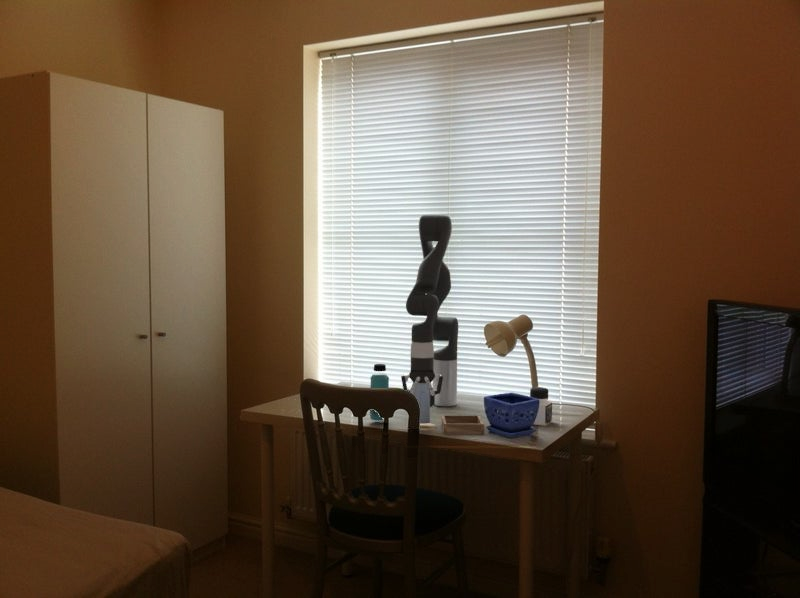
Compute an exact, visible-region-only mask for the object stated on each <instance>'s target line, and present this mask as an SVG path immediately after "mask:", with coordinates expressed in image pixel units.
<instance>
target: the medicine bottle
mask: <svg viewBox="0 0 800 598" xmlns="http://www.w3.org/2000/svg"><path fill="white" fill-rule="evenodd" d="M529 391H530V392H529V397H533V398H536V399H539V400H540V403H539V409H538V414H537V417H536V419H535V422H534V424H533V425H534V426H542V427H546V426H547V425H549V424H551V423H552V422H553V401H551V400H549V389H548V388H546V387H543V386H533V387H532V388H530V390H529Z"/></svg>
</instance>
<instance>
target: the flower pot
mask: <svg viewBox="0 0 800 598" xmlns="http://www.w3.org/2000/svg"><path fill="white" fill-rule="evenodd" d="M539 403H540V400H539V399H536V398H533V397H530V395H529V396H528V395H526V394H525V395H524V394H520V393H517V392H505V393H499V394H498V393H497V394H492V395H486V396H484V397H483V407H484V413H485V415H486V419H487V421H488V423H489V425H486V430H488V431H489V433H492V434H496V435H499V436H502V437H504V438H505V437H506V438H508V439H514V438H519V437H525V436H532V435H533V434H534V433H535V432H536V431H537V429H536V428H534V427H533V425H534V422H535V419H536V417H537V414H538V409H539Z"/></svg>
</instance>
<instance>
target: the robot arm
mask: <svg viewBox="0 0 800 598" xmlns="http://www.w3.org/2000/svg"><path fill="white" fill-rule="evenodd" d="M418 220H419V221H418V233H419V240H420V245H421V246H420V247H421V252H422V259H423V260H422V261H421V262H420V264H419V266H418V270H417V275H416V280H415V284H414V286H413V287H412V289H411V291H410V293H409V294H408V296H407V299H406V302H405V309H406V311H407V313H408V314H409V315H410V316H415V317H417V316H418V317H419V316H420V317H426V319H425V320H424V321H422V322H415V323H413V324H412V326H411V345H410V372H409V374H401V376H400V377H401V383H402V389H404V390H407V391H409V392H411V393H412V394H414V390H415V383H429V389H430V393H431V396H430V407H431V408H432V407H433V406H437V407H454V406H456V405H457V401H458V395H457V394H458V340H459V339H458V337H459V321H458V318H457V317H455V316H439V315H438V312H439V310H440V308H441V306H442V304H443V303H444V301H445V300H446V299H447V297H448V296H449V294H450V292H451V289H452V279H451V272H450V269H449V267H448V266H447V264H446V263H445V261H444V257H445V256H446V255H445V254H446V252H447V248H448V245H449V243H450V239H451V236H452V230H453V229H452V228H453V224H452V219H451V217H450V216H449V215H447V214H423V215H421V216H420V218H419V219H418ZM433 242H437V243H436V245H435V247H434V245H433ZM434 341H436V342H439V341H440V342H448V344H447V345H446V346H444V347H441V348H440V349H436V350H435V347H434ZM409 379H410V380H411V382H412V385H411V387H410V389H408V387H407V382H408V381H409ZM430 383H431V384H430ZM404 390H403V391H404Z"/></svg>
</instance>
